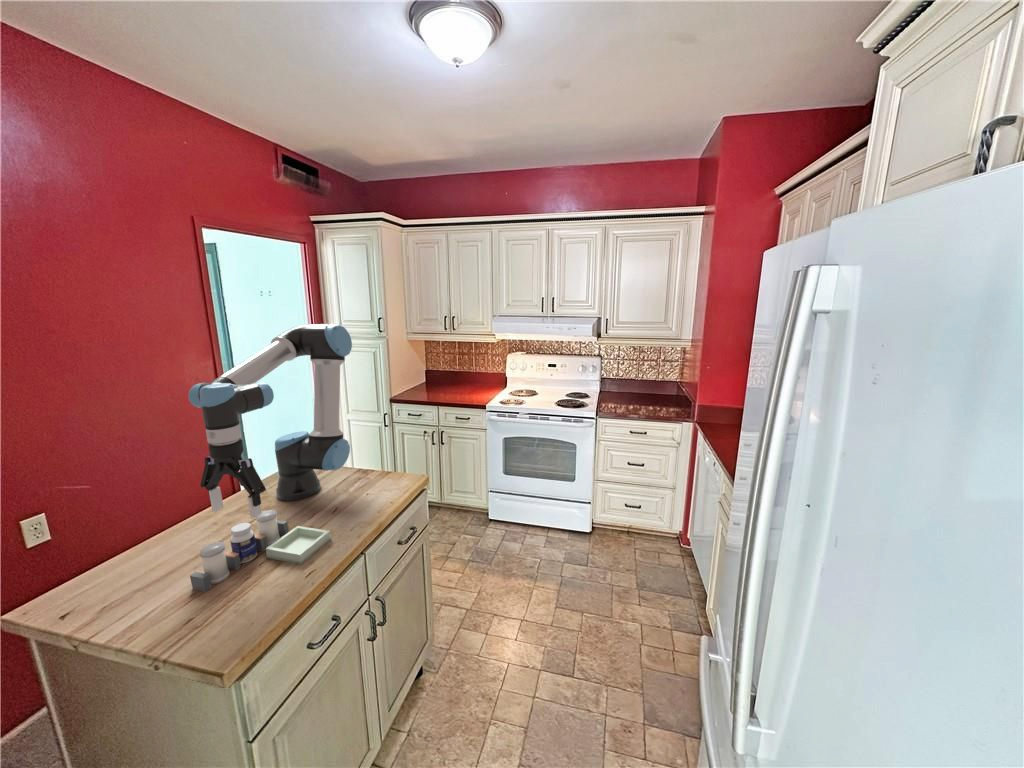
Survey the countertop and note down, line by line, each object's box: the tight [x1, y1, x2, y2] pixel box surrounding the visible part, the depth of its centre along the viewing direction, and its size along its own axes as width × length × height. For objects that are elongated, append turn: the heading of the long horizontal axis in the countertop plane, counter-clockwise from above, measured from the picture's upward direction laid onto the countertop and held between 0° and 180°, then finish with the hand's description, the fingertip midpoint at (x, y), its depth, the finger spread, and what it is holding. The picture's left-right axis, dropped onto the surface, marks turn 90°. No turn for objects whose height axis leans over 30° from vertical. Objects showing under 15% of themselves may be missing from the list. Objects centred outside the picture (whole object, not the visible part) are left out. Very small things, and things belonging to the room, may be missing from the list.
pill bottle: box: [230, 522, 258, 564], centre depth 114 cm, size 6×6×10 cm
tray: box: [265, 525, 332, 565], centre depth 119 cm, size 12×12×3 cm
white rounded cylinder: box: [199, 541, 231, 585], centre depth 106 cm, size 5×5×9 cm
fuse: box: [255, 509, 281, 547], centre depth 122 cm, size 5×5×9 cm
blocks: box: [189, 519, 290, 593], centre depth 114 cm, size 27×4×4 cm, turn 165°
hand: (236, 513), depth 111 cm, fingers open, 13 cm apart
